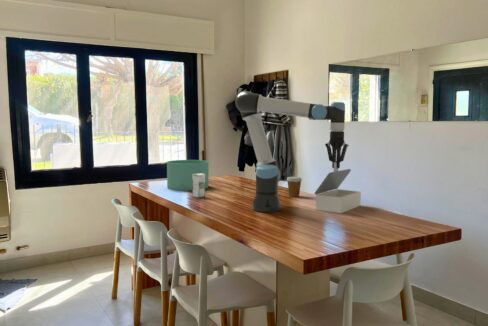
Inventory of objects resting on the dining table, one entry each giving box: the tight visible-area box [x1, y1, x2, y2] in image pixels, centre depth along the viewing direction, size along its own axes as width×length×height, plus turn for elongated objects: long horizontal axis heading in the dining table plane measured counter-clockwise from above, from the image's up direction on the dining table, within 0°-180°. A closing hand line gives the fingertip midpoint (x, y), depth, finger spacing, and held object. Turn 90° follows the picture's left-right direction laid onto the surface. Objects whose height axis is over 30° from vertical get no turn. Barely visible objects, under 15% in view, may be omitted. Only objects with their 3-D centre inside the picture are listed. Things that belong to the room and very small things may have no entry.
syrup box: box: [191, 173, 206, 199], centre depth 256 cm, size 6×6×14 cm
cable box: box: [315, 188, 362, 214], centre depth 224 cm, size 26×14×8 cm, turn 142°
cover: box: [314, 168, 352, 195], centre depth 226 cm, size 26×14×1 cm
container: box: [166, 159, 210, 191], centre depth 296 cm, size 30×30×19 cm
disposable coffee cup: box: [286, 176, 303, 198], centre depth 260 cm, size 10×10×12 cm
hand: (335, 174), depth 225 cm, fingers closed
